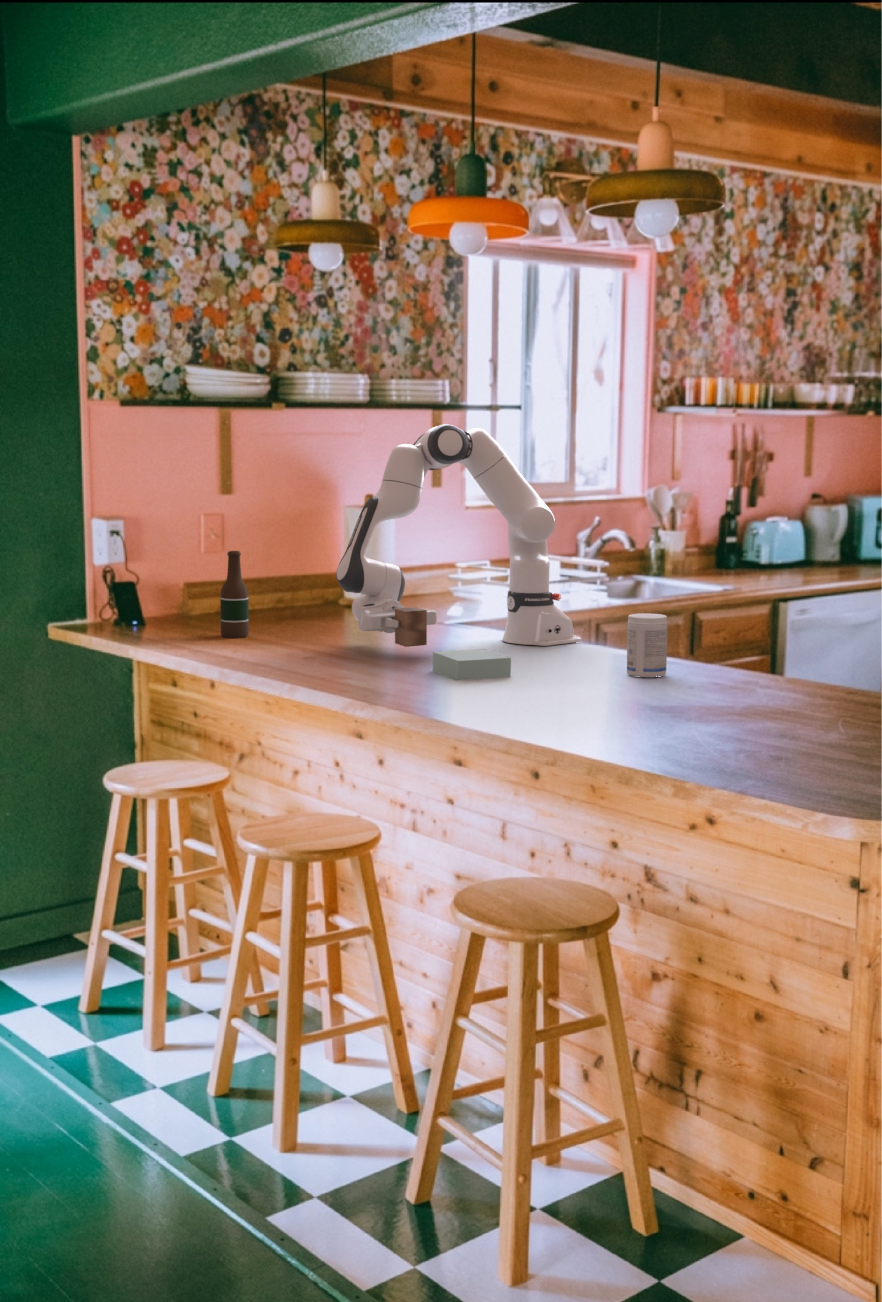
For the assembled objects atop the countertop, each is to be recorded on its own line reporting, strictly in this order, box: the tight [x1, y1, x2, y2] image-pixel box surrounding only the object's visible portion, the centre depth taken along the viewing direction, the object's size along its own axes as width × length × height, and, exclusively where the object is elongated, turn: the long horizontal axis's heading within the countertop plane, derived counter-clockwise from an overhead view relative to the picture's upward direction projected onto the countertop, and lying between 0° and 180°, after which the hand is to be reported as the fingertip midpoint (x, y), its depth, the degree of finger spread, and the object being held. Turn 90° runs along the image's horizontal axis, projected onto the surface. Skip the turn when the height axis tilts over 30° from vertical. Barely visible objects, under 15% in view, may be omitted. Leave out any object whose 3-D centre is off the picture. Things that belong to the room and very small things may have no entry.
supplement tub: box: [626, 612, 668, 677], centre depth 321 cm, size 10×10×15 cm
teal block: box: [432, 648, 512, 681], centre depth 321 cm, size 14×14×5 cm
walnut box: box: [394, 606, 428, 648], centre depth 339 cm, size 6×6×9 cm
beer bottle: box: [219, 550, 250, 639], centre depth 372 cm, size 8×8×24 cm
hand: (412, 623), depth 338 cm, fingers closed on walnut box, 6 cm apart
